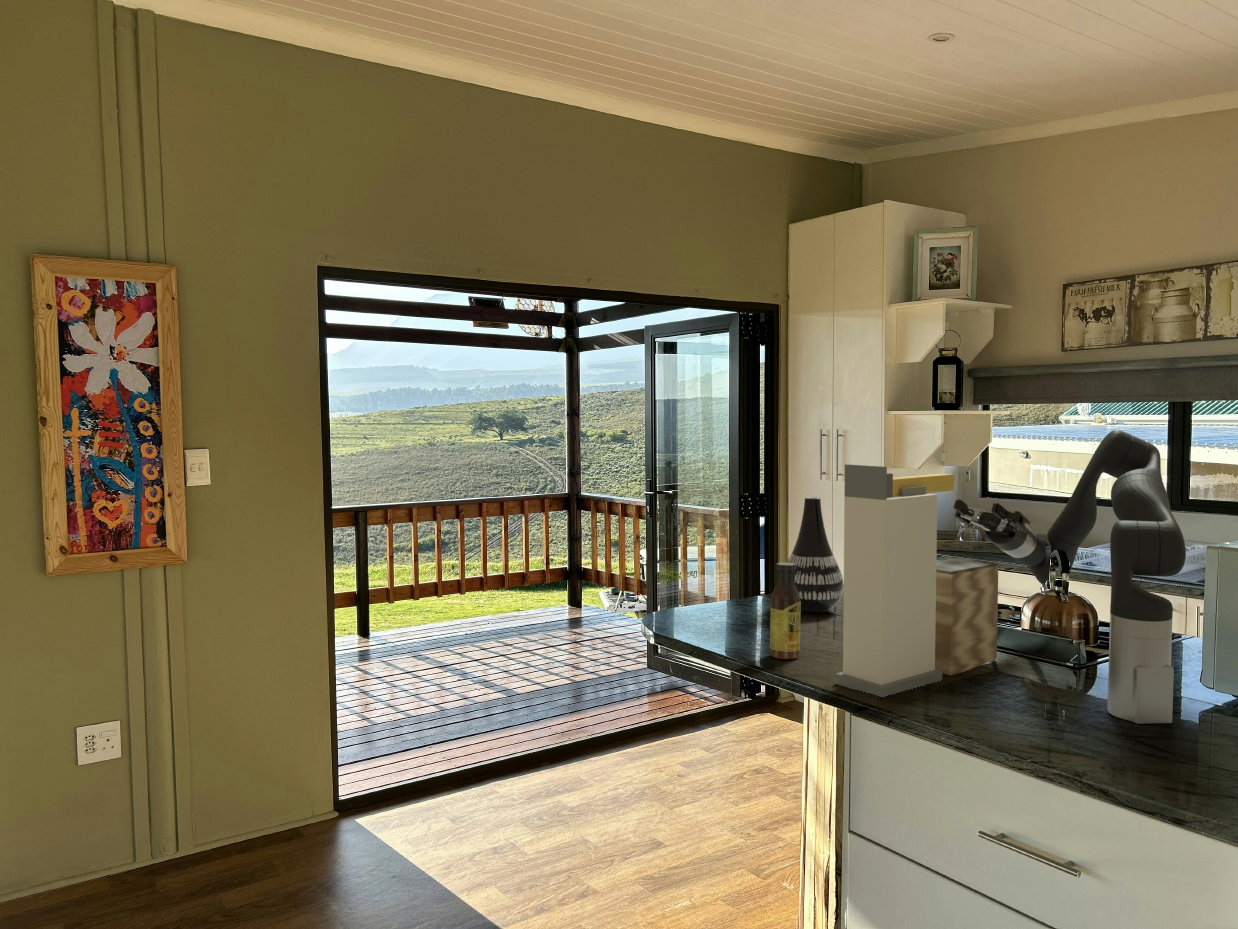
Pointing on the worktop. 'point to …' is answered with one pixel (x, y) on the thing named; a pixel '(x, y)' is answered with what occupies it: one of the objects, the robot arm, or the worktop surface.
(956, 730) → the worktop surface
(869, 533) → the socket tower
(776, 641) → the sauce bottle
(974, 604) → the block
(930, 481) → the plug rod
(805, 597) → the vase
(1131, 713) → the robot arm
